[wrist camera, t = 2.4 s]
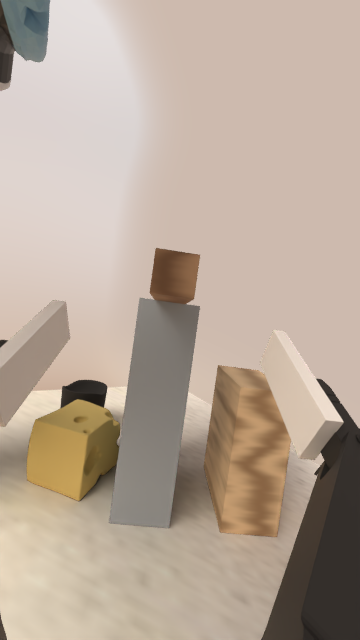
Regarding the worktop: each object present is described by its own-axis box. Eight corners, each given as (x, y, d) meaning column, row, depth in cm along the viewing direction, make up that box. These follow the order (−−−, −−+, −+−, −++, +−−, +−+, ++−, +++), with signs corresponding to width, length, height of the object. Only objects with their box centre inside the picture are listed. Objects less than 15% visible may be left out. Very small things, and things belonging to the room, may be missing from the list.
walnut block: (149, 292, 21) (155, 248, 21) (158, 304, 46) (161, 284, 46) (193, 299, 21) (200, 254, 21) (178, 307, 46) (181, 287, 46)
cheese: (117, 464, 44) (125, 410, 43) (77, 507, 33) (87, 436, 33) (70, 448, 46) (77, 397, 46) (20, 483, 36) (28, 418, 36)
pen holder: (107, 435, 53) (113, 391, 52) (61, 444, 47) (67, 395, 47) (94, 417, 60) (99, 379, 60) (53, 423, 54) (58, 380, 54)
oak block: (220, 532, 32) (240, 387, 32) (203, 466, 46) (218, 365, 46) (276, 537, 33) (297, 393, 32) (243, 470, 47) (257, 370, 46)
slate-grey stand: (108, 523, 31) (139, 297, 31) (126, 458, 45) (147, 303, 45) (169, 528, 32) (199, 306, 31) (168, 463, 46) (189, 309, 45)
